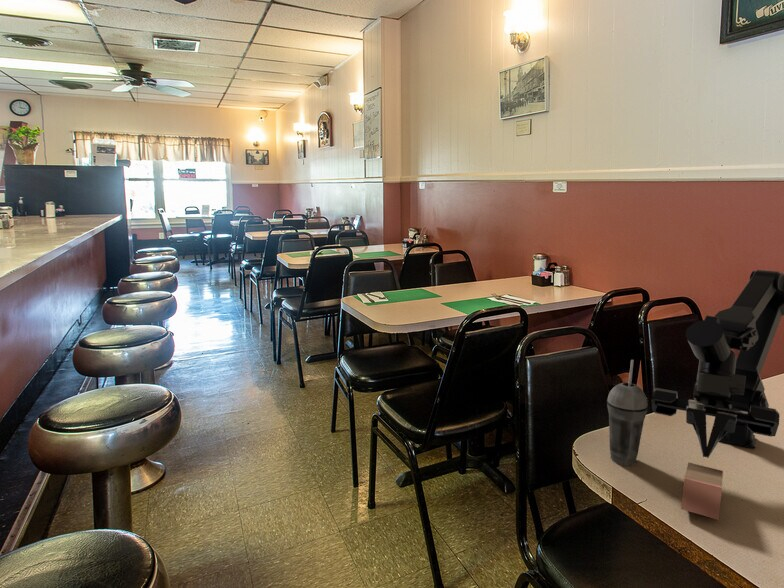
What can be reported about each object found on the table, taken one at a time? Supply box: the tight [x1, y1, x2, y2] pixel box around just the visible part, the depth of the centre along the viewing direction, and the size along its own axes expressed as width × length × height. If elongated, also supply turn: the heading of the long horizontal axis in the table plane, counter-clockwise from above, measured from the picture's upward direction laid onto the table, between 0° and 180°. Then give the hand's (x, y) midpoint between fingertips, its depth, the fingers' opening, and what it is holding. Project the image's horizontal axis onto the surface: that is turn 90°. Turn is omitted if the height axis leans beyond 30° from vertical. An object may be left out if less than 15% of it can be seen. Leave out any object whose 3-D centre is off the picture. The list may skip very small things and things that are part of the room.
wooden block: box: [680, 462, 724, 521], centre depth 81 cm, size 5×5×9 cm
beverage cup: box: [606, 359, 649, 467], centre depth 95 cm, size 7×7×20 cm
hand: (705, 456), depth 84 cm, fingers closed
